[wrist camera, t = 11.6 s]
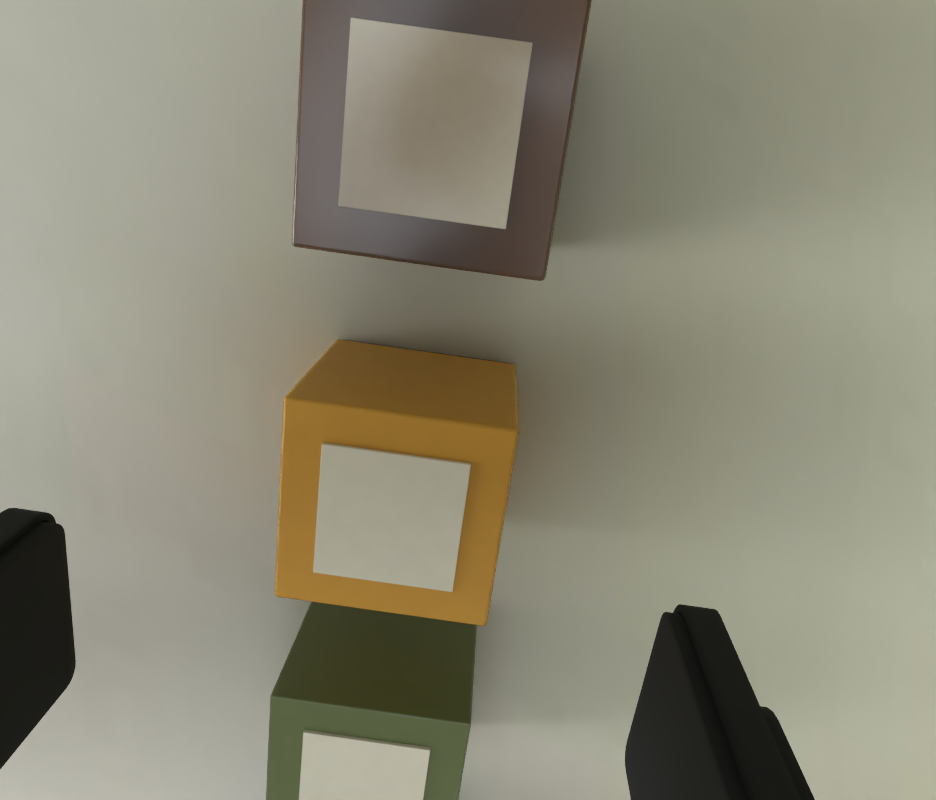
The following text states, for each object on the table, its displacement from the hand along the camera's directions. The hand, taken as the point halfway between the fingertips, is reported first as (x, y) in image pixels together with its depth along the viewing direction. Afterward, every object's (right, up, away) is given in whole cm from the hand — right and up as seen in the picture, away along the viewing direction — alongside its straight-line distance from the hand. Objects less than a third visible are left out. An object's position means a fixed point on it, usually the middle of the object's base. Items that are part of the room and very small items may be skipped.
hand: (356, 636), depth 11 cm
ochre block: (0, +3, +9) cm, 10 cm away
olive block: (-1, -5, +12) cm, 13 cm away
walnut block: (+1, +10, +7) cm, 12 cm away
